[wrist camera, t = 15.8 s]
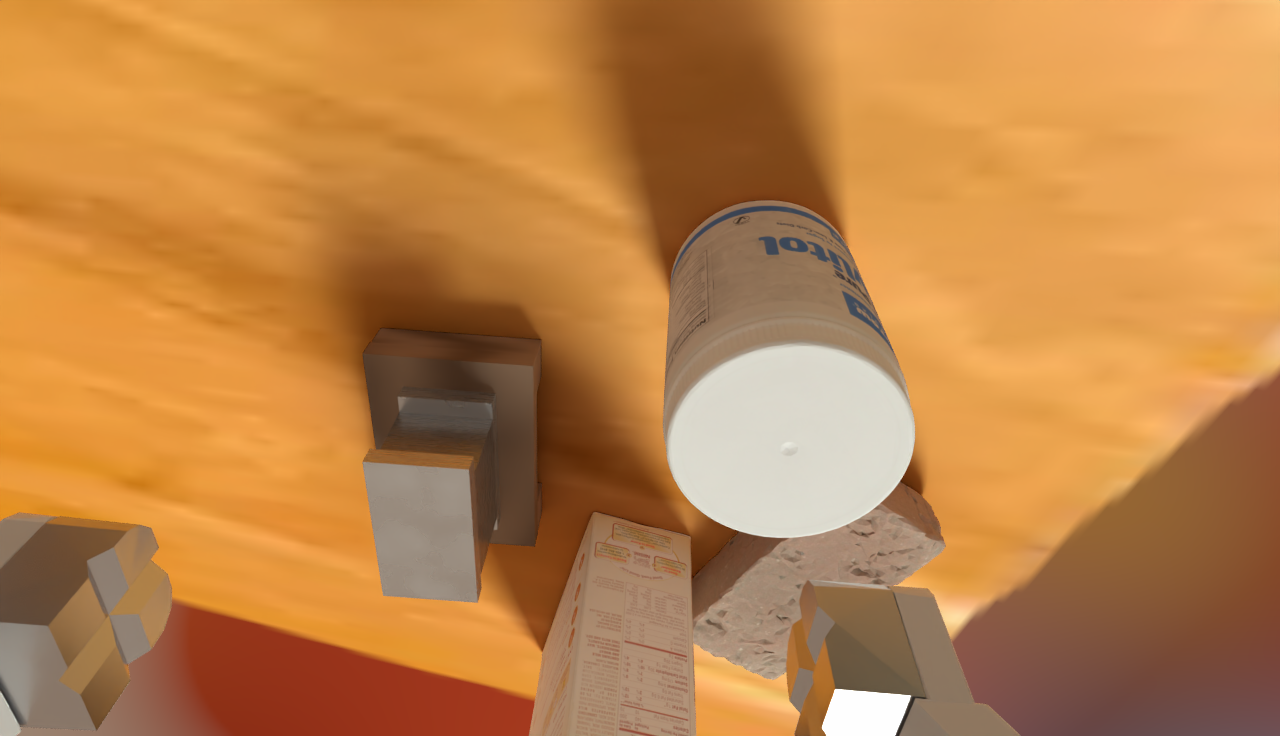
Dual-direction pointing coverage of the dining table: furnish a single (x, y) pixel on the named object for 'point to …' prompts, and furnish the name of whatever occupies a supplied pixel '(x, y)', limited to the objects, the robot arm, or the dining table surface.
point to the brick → (803, 577)
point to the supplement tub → (780, 376)
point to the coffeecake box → (621, 638)
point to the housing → (435, 494)
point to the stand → (477, 369)
